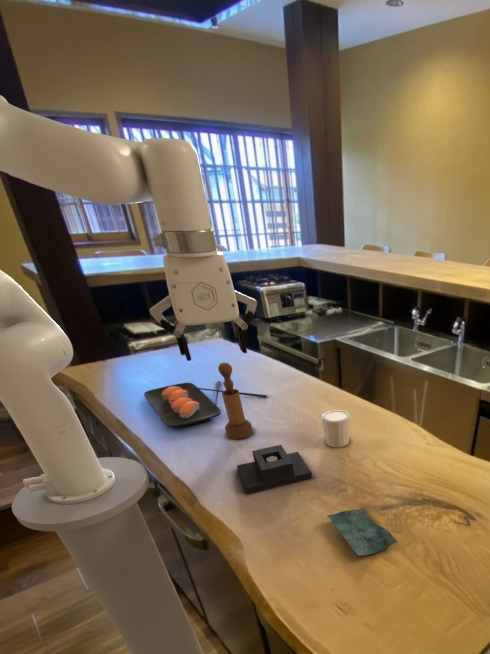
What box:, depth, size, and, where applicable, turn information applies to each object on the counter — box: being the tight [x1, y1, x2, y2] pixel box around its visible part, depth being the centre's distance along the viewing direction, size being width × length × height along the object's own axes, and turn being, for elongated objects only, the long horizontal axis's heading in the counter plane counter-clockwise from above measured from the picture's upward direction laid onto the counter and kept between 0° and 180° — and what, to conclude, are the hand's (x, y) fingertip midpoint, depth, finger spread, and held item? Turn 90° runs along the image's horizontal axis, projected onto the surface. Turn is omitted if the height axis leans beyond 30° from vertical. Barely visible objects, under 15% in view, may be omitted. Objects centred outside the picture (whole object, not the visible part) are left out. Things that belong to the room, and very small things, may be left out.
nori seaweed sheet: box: [326, 508, 399, 557], centre depth 77 cm, size 13×8×2 cm, turn 32°
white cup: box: [321, 409, 351, 448], centre depth 103 cm, size 7×7×7 cm
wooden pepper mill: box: [217, 362, 254, 440], centre depth 103 cm, size 7×6×18 cm
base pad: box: [236, 451, 313, 495], centre depth 92 cm, size 14×10×4 cm
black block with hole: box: [251, 444, 294, 482], centre depth 92 cm, size 6×9×3 cm
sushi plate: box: [143, 380, 267, 428], centre depth 123 cm, size 29×30×4 cm
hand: (216, 354), depth 77 cm, fingers open, 9 cm apart
